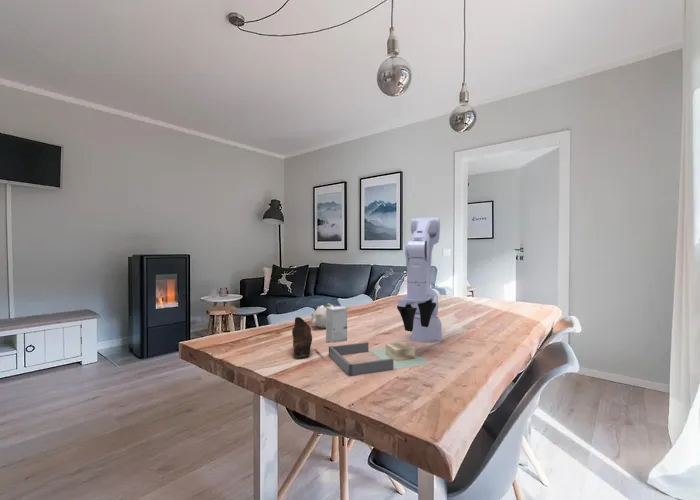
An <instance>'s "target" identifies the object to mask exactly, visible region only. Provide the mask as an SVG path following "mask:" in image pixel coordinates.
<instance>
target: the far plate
mask: <svg viewBox="0 0 700 500" xmlns="http://www.w3.org/2000/svg"><path fill="white" fill-rule="evenodd" d="M368 352H370V353H372V355H375V356H376V357H377V358H378V359H379V360H384V359H391V358H390V357H389V356H387V355H386V347H385V348H379V349H372V350H371V349H370V350H369V349H368ZM427 365H432V362H430V361H428V360H426V359H425V358H423V357H421V356H419V355H418V354H416V353H415V359H408V360H401V361H395V360H393V370H398V369H406V368H411V367H419V366H427Z"/></svg>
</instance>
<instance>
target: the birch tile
mask: <svg viewBox="0 0 700 500" xmlns="http://www.w3.org/2000/svg"><path fill="white" fill-rule="evenodd" d="M385 348H386V355H387V356H389V357H390V358H392V359H393V360H395V361H401V360H408V359H415V354H416V347H415V346H413V345H411V344H409V343H407V342H405V341H399V342H392V343H391V342H390V343H385Z"/></svg>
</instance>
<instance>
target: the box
mask: <svg viewBox="0 0 700 500" xmlns="http://www.w3.org/2000/svg"><path fill="white" fill-rule="evenodd" d="M368 352H369V342H367V341H366V342H359V343H350V344H349V343H348V344H340V345H339V344H338V345H331V346H328V357H330V358H331V360H332V361H333V362H334V363H335V364H337V366H338V367H339V368H340V369H342V371H343V372H344V373H345V374H346V375H347V376H348V377H352V376H358V375H365V374H372V373H378V372H386V371H387V372H388V371H392V370H394V368H393V359H392V358H391V359H384V360H381V359H376V360H370V361H362V362H355V363H354V362H353V363H350V362H349V361H348V360H347V359H346V358H345V357H344V356H343V355H353V354H360V353H368Z"/></svg>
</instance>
